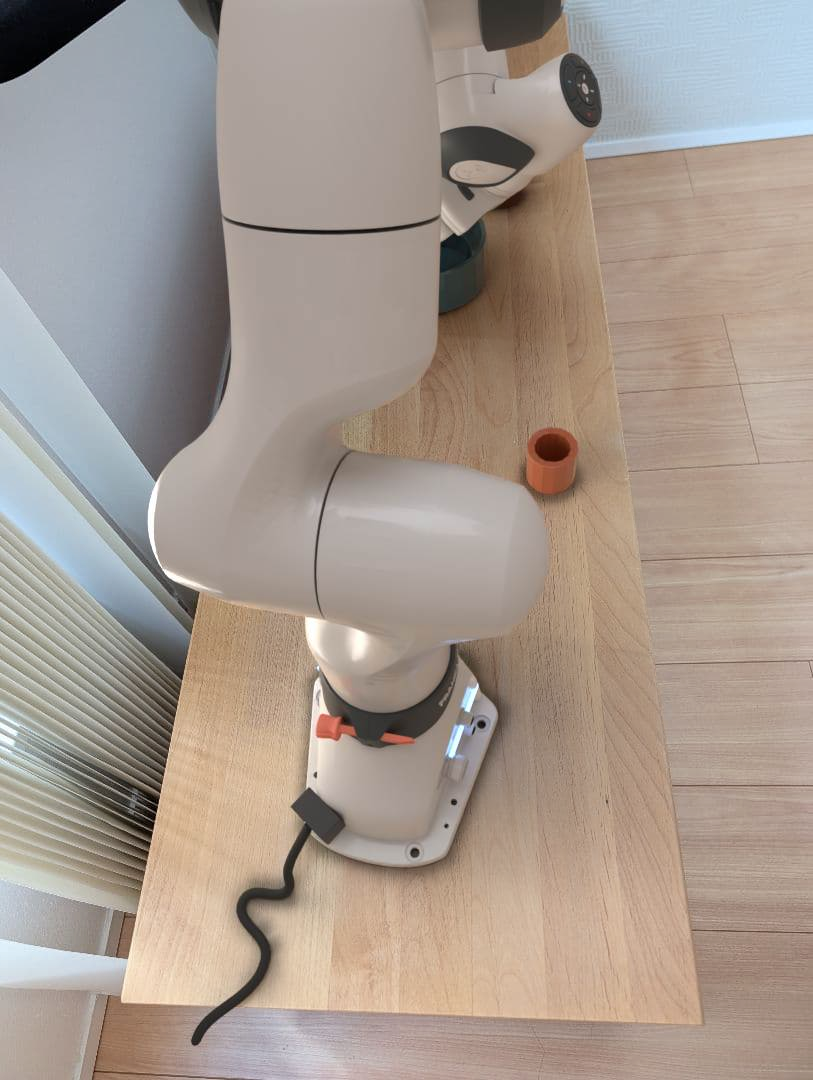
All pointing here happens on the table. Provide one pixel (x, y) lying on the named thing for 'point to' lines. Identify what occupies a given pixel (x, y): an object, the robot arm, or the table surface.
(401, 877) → the table surface
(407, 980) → the table surface
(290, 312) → the robot arm
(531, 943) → the table surface
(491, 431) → the table surface
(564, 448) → the holder
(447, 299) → the bowl
